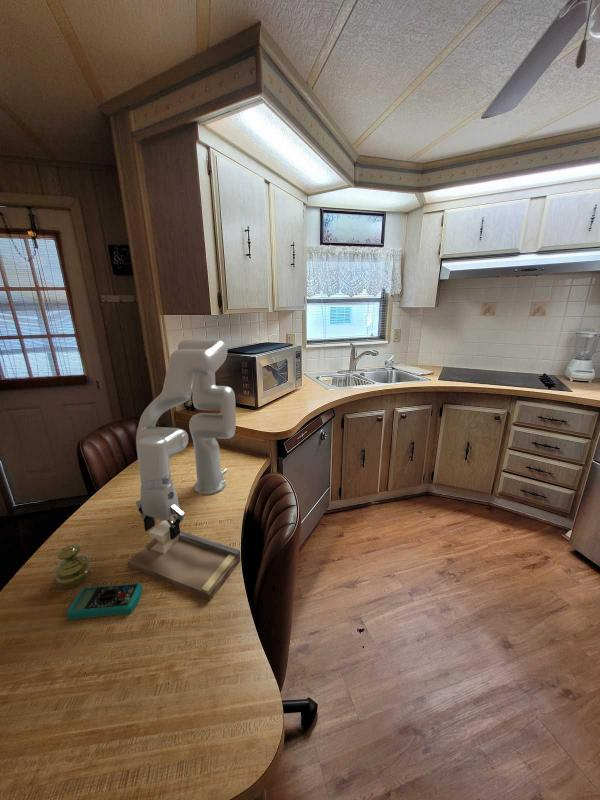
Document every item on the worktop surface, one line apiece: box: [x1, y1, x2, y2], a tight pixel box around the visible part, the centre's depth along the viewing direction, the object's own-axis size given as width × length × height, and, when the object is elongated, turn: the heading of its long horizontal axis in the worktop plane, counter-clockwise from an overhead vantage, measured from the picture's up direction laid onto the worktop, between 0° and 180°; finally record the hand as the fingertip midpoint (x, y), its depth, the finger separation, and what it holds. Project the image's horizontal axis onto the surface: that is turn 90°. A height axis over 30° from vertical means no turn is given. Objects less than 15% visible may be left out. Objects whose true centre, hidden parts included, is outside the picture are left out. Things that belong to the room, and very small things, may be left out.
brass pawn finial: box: [54, 543, 92, 590], centre depth 81 cm, size 7×7×10 cm
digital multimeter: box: [66, 582, 143, 621], centre depth 75 cm, size 7×15×3 cm, turn 96°
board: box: [126, 530, 242, 601], centre depth 87 cm, size 14×28×4 cm, turn 68°
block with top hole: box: [145, 520, 179, 554], centre depth 90 cm, size 9×5×6 cm, turn 158°
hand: (162, 532), depth 90 cm, fingers open, 9 cm apart
